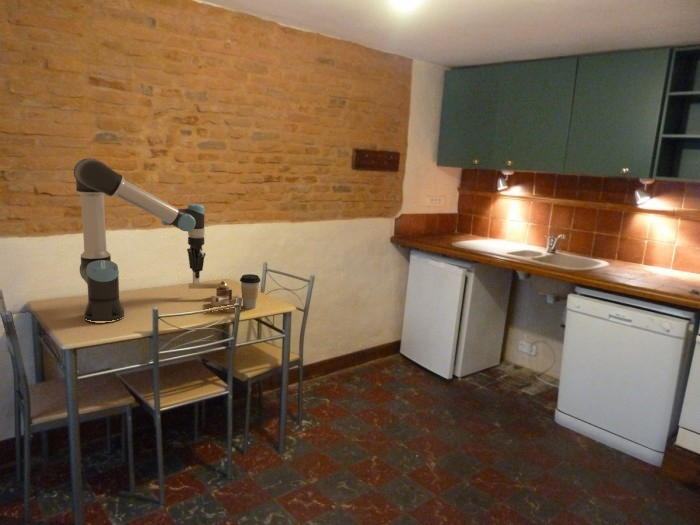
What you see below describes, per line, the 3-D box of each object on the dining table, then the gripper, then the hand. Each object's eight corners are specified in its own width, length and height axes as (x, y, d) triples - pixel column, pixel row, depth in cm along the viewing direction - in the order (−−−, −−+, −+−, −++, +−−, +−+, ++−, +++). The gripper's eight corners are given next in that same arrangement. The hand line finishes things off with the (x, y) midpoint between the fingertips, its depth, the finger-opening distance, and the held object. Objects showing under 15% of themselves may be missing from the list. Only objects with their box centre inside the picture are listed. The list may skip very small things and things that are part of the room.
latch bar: (227, 286, 251) (227, 280, 251) (227, 288, 248) (227, 282, 247) (188, 286, 246) (188, 280, 246) (188, 289, 243) (188, 283, 242)
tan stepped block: (211, 313, 229) (211, 296, 227) (211, 303, 242) (211, 287, 240) (239, 312, 232) (239, 295, 230) (237, 302, 245) (237, 286, 243)
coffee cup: (243, 311, 234) (244, 279, 231) (236, 305, 242) (236, 274, 238) (262, 308, 239) (263, 278, 236) (254, 302, 247) (255, 273, 244)
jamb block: (216, 300, 246) (216, 290, 245) (216, 296, 252) (216, 286, 251) (229, 300, 248) (229, 290, 247) (228, 296, 254) (229, 286, 253)
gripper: (181, 234, 245) (182, 282, 250) (196, 239, 236) (196, 288, 242) (196, 233, 250) (195, 279, 256) (210, 238, 242) (210, 286, 247)
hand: (196, 283), depth 249 cm, fingers closed
